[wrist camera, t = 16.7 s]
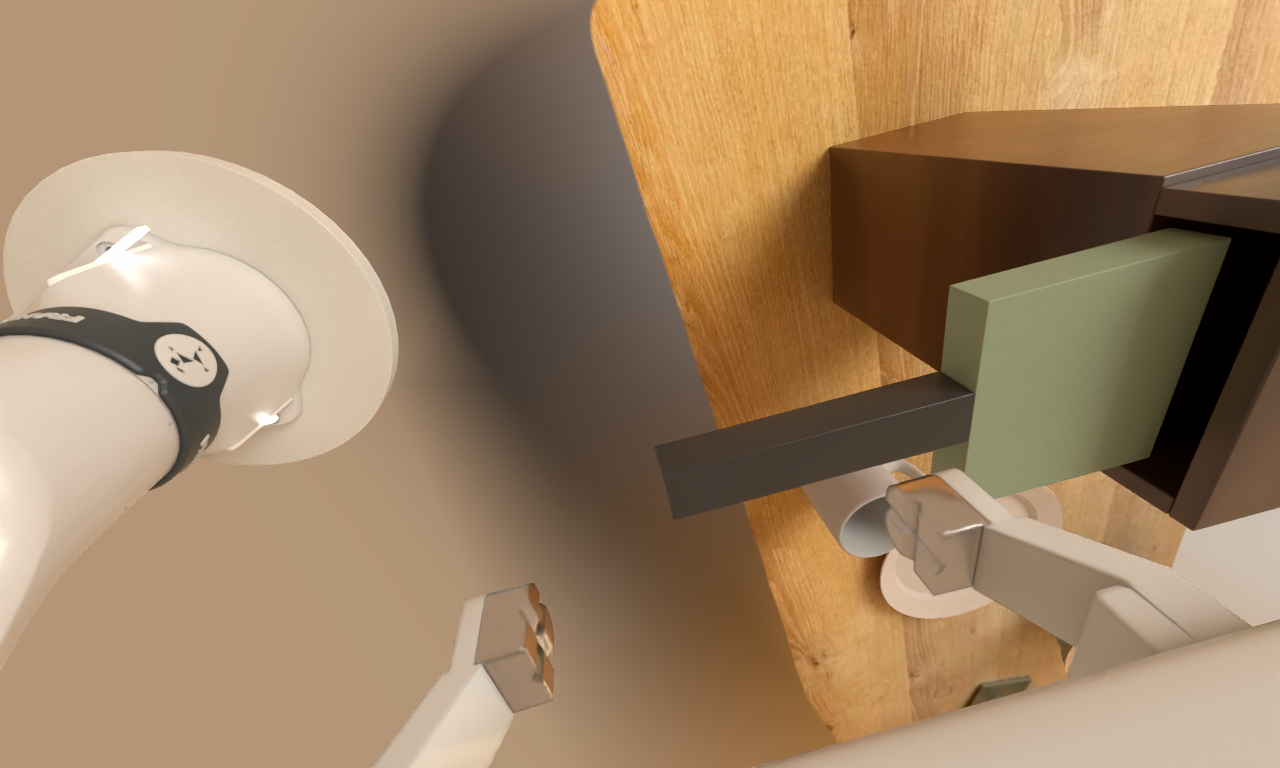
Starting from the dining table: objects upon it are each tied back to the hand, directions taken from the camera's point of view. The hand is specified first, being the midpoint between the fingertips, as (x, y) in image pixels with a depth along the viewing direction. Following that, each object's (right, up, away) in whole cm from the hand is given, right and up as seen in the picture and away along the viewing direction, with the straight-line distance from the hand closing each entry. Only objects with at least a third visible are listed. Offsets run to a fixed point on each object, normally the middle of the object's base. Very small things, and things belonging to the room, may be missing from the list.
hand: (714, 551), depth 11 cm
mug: (+22, -5, +46) cm, 51 cm away
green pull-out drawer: (+10, +3, +10) cm, 14 cm away
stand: (+21, +19, +33) cm, 44 cm away
